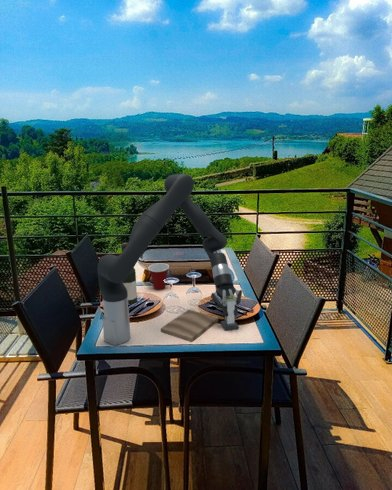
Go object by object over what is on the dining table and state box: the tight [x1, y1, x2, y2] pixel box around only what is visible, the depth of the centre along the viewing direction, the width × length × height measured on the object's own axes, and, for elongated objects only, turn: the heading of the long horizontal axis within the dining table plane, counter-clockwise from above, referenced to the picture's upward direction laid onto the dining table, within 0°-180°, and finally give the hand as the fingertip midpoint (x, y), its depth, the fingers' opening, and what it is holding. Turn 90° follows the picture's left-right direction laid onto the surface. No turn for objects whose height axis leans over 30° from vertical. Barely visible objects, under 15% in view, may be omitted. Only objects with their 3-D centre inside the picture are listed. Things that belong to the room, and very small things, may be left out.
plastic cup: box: [147, 262, 170, 291], centre depth 189 cm, size 11×11×12 cm
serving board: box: [160, 309, 219, 343], centre depth 149 cm, size 20×15×2 cm
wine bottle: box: [121, 242, 138, 305], centre depth 166 cm, size 8×8×30 cm
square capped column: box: [220, 295, 239, 332], centre depth 147 cm, size 6×6×13 cm
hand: (231, 315), depth 145 cm, fingers closed on square capped column, 3 cm apart
